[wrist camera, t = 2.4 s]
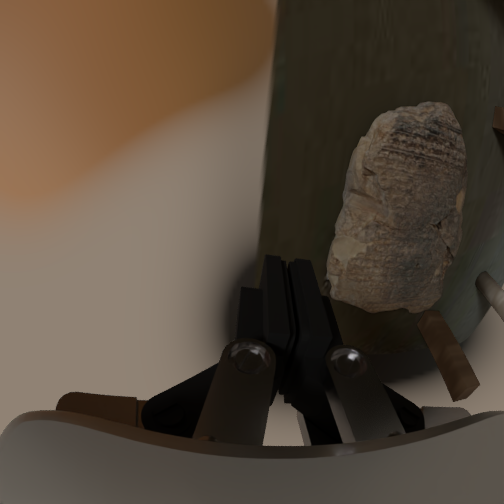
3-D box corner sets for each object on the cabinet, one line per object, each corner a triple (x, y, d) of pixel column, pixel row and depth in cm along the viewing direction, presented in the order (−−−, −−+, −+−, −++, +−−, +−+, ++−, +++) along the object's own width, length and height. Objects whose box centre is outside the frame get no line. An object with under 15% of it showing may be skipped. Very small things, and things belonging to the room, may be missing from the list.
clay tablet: (349, 78, 17) (311, 293, 27) (373, 71, 13) (319, 327, 22) (473, 125, 18) (422, 296, 27) (506, 133, 13) (441, 324, 23)
